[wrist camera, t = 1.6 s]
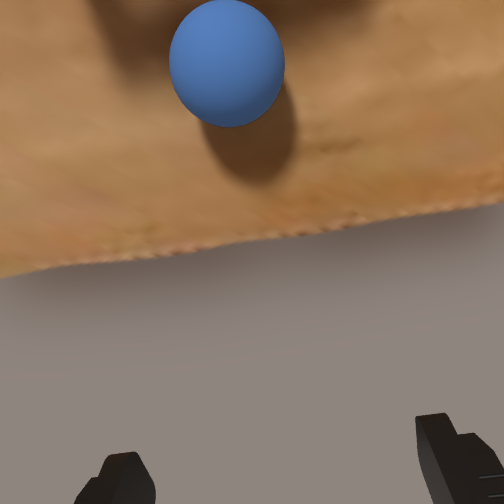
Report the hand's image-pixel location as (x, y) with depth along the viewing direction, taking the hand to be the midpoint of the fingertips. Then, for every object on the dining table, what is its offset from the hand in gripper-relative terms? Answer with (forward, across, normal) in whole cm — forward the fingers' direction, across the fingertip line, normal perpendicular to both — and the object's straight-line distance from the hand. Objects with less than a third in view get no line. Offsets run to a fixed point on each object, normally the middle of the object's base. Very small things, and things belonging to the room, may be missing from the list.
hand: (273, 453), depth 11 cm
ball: (+15, 0, -10) cm, 18 cm away
